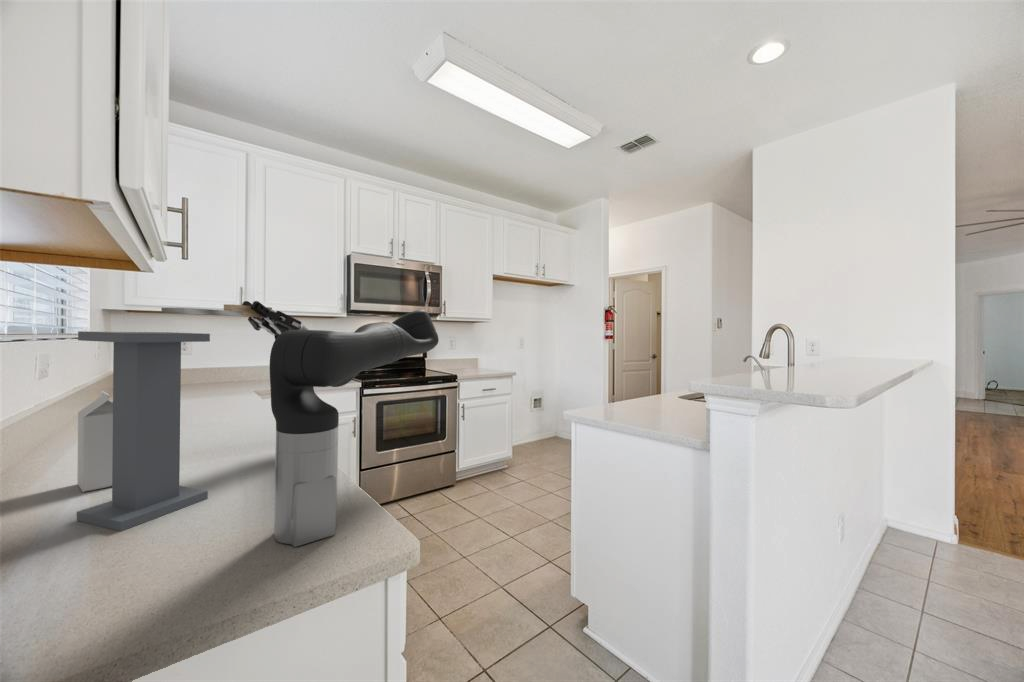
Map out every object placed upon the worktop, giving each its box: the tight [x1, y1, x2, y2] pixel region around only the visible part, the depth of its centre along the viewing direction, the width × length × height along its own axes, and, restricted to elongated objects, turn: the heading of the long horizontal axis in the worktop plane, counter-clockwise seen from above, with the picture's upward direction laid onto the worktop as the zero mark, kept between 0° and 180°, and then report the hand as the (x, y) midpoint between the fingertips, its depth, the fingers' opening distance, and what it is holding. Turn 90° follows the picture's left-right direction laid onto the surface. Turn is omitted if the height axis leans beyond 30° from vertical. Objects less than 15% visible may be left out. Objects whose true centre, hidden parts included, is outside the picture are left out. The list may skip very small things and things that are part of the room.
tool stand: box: [76, 331, 211, 532], centre depth 74 cm, size 14×11×32 cm
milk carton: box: [77, 390, 113, 493], centre depth 86 cm, size 7×7×19 cm
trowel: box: [161, 304, 273, 318], centre depth 88 cm, size 21×6×2 cm, turn 163°
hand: (248, 304), depth 93 cm, fingers closed on trowel, 2 cm apart
